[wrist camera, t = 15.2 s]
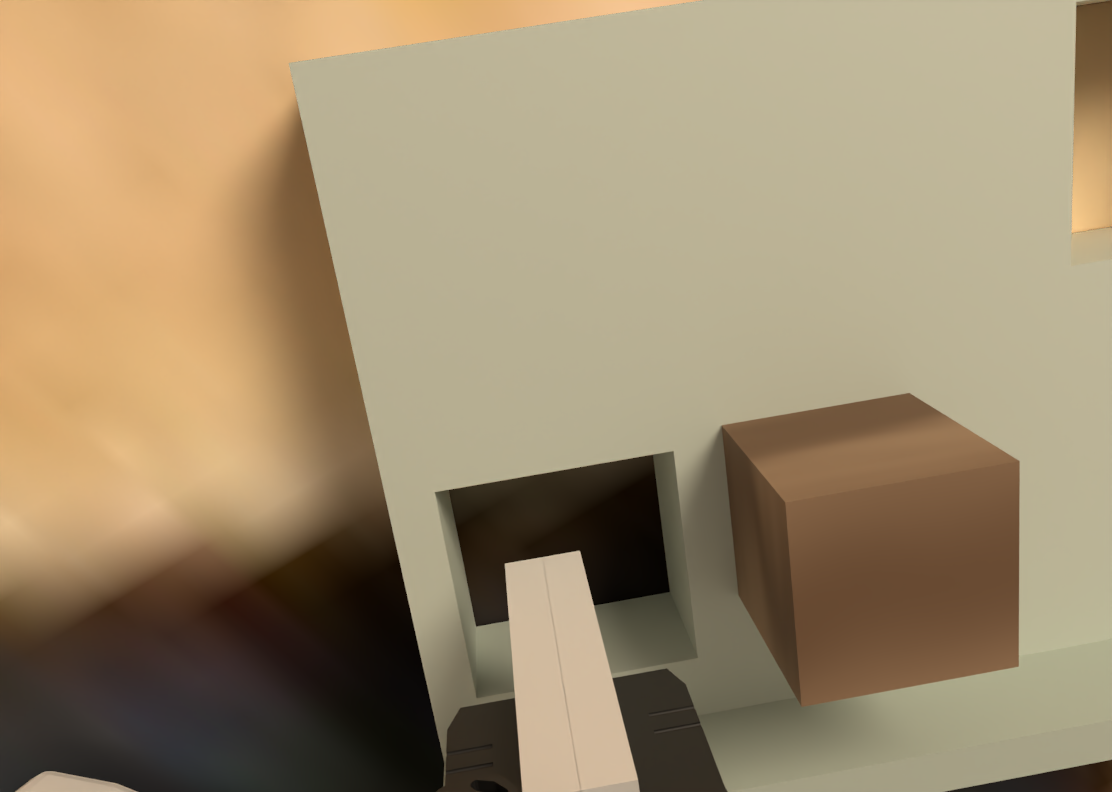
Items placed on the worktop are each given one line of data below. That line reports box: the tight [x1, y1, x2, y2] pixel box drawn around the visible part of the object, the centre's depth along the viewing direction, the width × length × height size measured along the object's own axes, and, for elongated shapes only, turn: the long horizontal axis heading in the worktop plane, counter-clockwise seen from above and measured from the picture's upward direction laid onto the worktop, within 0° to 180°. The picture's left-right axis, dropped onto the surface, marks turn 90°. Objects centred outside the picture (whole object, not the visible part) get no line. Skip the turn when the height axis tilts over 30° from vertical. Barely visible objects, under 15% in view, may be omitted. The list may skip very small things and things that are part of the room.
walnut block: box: [722, 393, 1020, 707], centre depth 18 cm, size 4×4×4 cm
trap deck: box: [289, 0, 1112, 792], centre depth 19 cm, size 16×27×6 cm, turn 99°
